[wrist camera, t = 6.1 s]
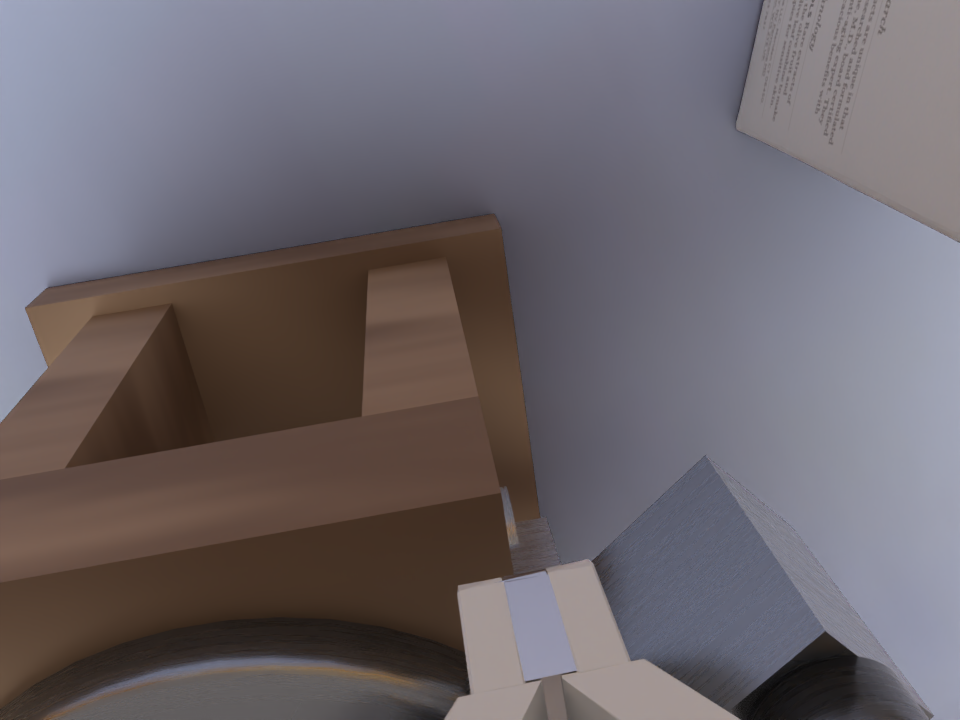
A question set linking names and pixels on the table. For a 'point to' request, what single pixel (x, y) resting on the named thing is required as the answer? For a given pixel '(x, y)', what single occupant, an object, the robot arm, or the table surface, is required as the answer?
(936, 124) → the skincare box
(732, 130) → the table surface
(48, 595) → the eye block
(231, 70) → the table surface
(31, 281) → the table surface
